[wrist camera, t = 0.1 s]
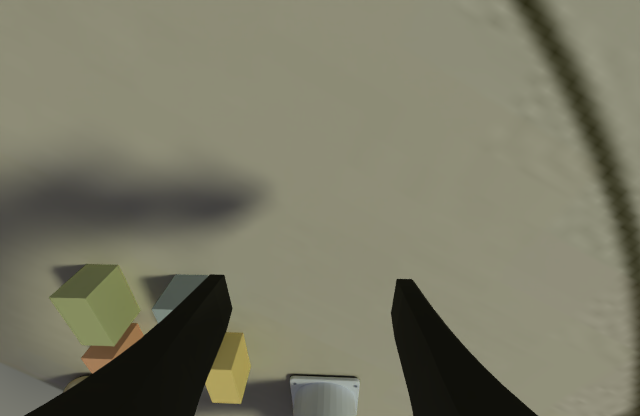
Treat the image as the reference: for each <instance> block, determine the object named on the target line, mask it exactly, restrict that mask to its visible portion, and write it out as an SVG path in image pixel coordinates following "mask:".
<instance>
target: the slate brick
mask: <svg viewBox="0 0 640 416" xmlns="http://www.w3.org/2000/svg"><path fill="white" fill-rule="evenodd" d="M207 277H208V275H177V274H176V275H175V276H174V278H173V279H172V281H171V282H170V283H169V285H168V286H167V288H166V289H165V291H164V292H163V294H162V295H161V296H160V298H159V299H158V301H157V302H156V304H155V305H154V307H153V308H152V311H153V313H154V315H155V318H156V320H157V322H158V323H159V322H160V321H162V320H163V319H164V318H165V317H166V316H167V315H168V314H169V313H170V312H172V311H173V310H174V309H175V308H176V307H177V306H178V305H179V304H180V303H181V302H182V301H183V300H184V299H185V298H186V297H187V296H188V295H189V294H190V293H191V292H192V291H194V290H195V289H196V288H197V287H198V286H199V285H200V284H201V283H202V282H203V281H204V280H205V279H206V278H207Z"/></svg>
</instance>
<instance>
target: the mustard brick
mask: <svg viewBox="0 0 640 416" xmlns="http://www.w3.org/2000/svg"><path fill="white" fill-rule="evenodd" d="M250 368H251V365H250V361H249V357H248V352H247V348H246V344H245V339H244V335H243V333H229V332H226V333H225V336H224V338H223V341H222V343H221V346H220V348H219V351H218V353H217V356H216V358H215V361H214V363H213V366H212V368H211V370H210V373H209V375H208V378H207V380H206V383H205V385H206V387H207V390H208V392H209V395H210V398H211V400H212V403H233V404H241V402H242V398H243V395H244V391H245V387H246V383H247V379H248V375H249V371H250Z"/></svg>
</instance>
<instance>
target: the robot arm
mask: <svg viewBox="0 0 640 416" xmlns="http://www.w3.org/2000/svg"><path fill="white" fill-rule="evenodd" d="M231 312H232V305H231V301H230V297H229V293H228V288H227V284H226V280H225V276H224V275H209V276H208V277H207V278H206V279H205V280H204V281H203V282H202V283H201V284H200V285H199V286H198V287H197V288H196V289H195V290H194V291H192V292H191V293H190V294H189V295H188V296H187V297H186V298H185V299H184V300H183V301H182V302H181V303H180V304H179V305H178V306H177V307H176V308H175V309H174V310H173V311H172V312H170V313H169V314H168V315H167V316H166V317H165V318H164V319H163V320H162V321H160V322H159V323H158V324H157V325H156V326H155V327H154V328H152V329H151V330H150V331H149V332H148V333H147V334H145V335H144V336H143V337H142V338H141V339H139V340H138V341H137V342H136V343H134V344H133V345H132V346H130V347H129V348H128V349H126V350H125V351H124V352H123V353H121V354H120V355H119V356H117V357H116V358H114V359H113V360H112V361H110V362H109V363H107V364H106V365H104V366H103V367H101V368H100V369H99V370H97V371H96V372H94V373H93V374H91V375H90V376H88V377H87V378H85V379H84V380H82V381H81V382H79V383H78V384H76V385H75V386H73V387H72V388H70V389H68V390H67V391H65V392H64V393H62V394H60V395H59V396H57V397H55V398H54V399H52V400H50V401H49V402H47V403H46V404H44V405H42V406H40V407H39V408H37V409H35V410H34V411H32V412H30V413H28V414H26V415H25V416H194V415H195V412H196V408H197V405H198V402H199V399H200V396H201V393H202V390H203V388H204V385H205V383H206V380H207V378H208V375H209V373H210V370H211V368H212V366H213V363H214V361H215V358H216V356H217V353H218V351H219V348H220V346H221V343H222V341H223V338H224V336H225V333H226V330H227V327H228V323H229V319H230V316H231ZM391 316H392V324H393V331H394V337H395V342H396V346H397V349H398V353H399V357H400V361H401V365H402V369H403V373H404V377H405V381H406V384H407V388H408V392H409V396H410V401H411V405H412V410H413V416H538V415H536V414H535V413H534V412H533V411H532V410H531V409H529V408H528V407H527V406H526V405H525V404H524V403H523V402H521V401H520V400H519V399H518V398H517V397H516V396H515V395H513V394H512V393H511V392H510V391H509V390H508V389H507V388H506V387H504V386H503V385H502V384H501V383H500V382H499V381H498V380H497V379H496V378H495V377H494V376H493V375H492V374H491V373H490V372H489V371H488V370H487V369H486V368H485V367H484V366H483V365H482V364H481V363H480V362H479V361H478V360H477V359H476V358H475V357H474V356H473V355H472V354H471V353H470V352H469V351H468V350H467V348H466V347H465V346H464V345H463V344H462V343H461V342H460V341H459V339H458V338H457V337H456V336H455V335H454V334H453V332H452V331H451V330H450V329H449V328H448V326H447V325H446V324H445V323H444V321H443V320H442V319H441V318H440V316H439V315H438V314H437V313H436V311H435V310H434V309H433V307H432V306H431V305H430V303H429V302H428V301H427V299H426V298H425V296H424V295H423V294H422V292H421V291H420V289H419V288H418V286H417V285H416V284H415V282H414V281H413V280H412V279H397V281H396V287H395V293H394V299H393V305H392V311H391ZM359 386H360V381H359V379H357V378H341V377H315V376H291V377H290V387H291V395H292V404H293V416H356V415H357V405H358V395H359Z"/></svg>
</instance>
